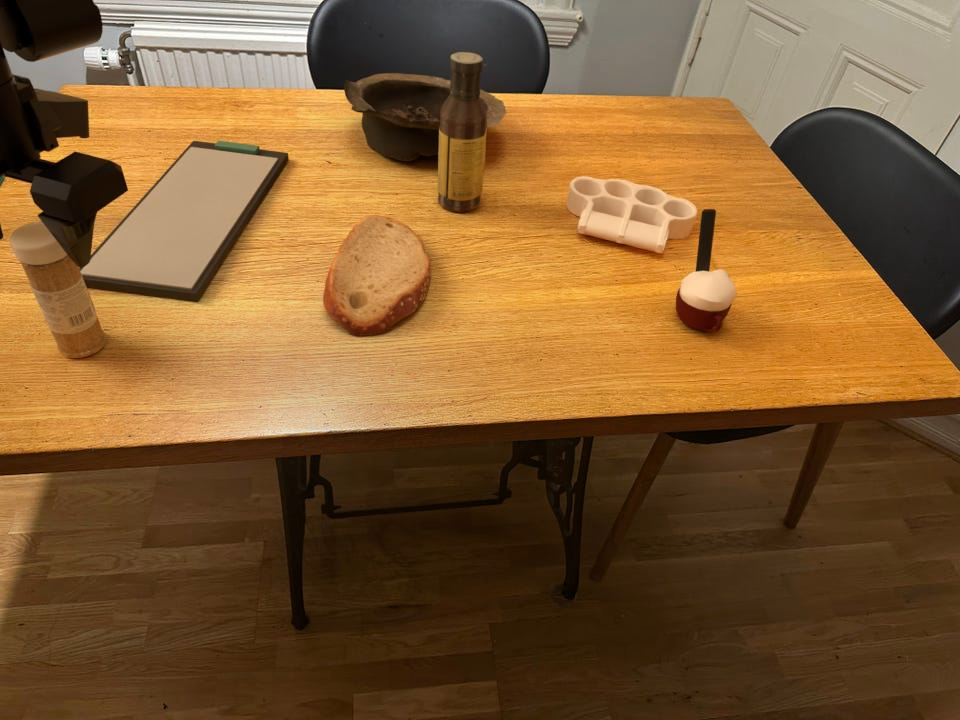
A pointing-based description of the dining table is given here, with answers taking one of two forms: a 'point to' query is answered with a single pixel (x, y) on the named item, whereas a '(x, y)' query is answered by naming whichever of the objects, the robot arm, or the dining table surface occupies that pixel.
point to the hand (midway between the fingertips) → (40, 252)
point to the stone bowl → (407, 112)
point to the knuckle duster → (629, 212)
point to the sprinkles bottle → (58, 291)
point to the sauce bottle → (462, 136)
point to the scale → (186, 222)
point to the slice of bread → (376, 276)
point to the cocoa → (705, 286)
